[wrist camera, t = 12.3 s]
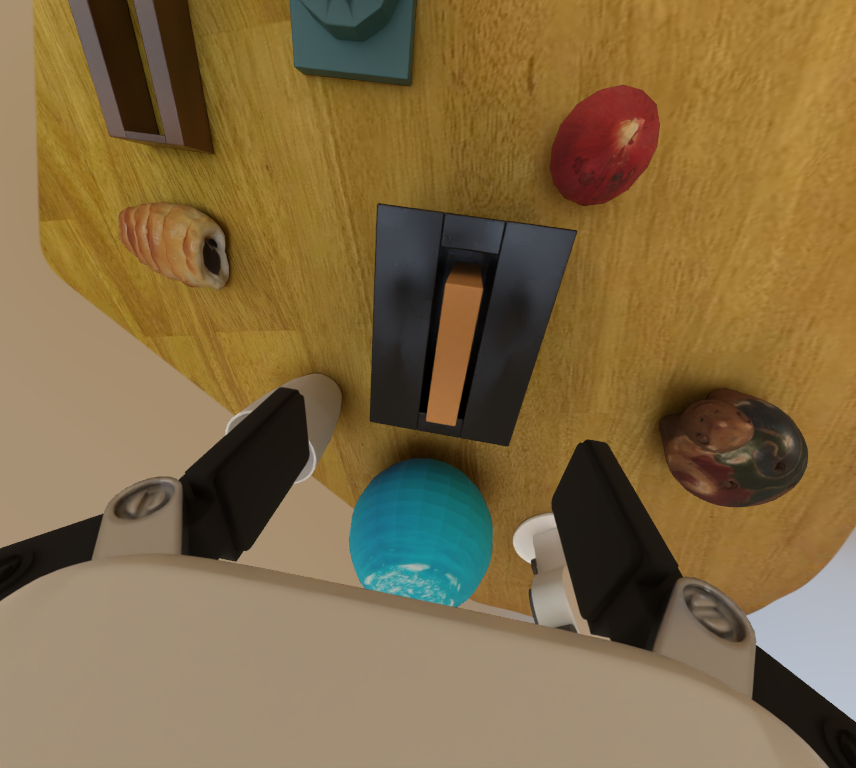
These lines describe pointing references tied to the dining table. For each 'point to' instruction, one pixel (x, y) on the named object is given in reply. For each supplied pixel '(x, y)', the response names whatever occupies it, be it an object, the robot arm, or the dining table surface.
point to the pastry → (176, 243)
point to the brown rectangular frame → (124, 78)
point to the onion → (604, 145)
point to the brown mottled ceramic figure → (734, 449)
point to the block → (354, 39)
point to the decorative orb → (422, 533)
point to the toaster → (496, 323)
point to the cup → (309, 414)
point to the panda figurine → (549, 576)
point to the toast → (454, 341)
